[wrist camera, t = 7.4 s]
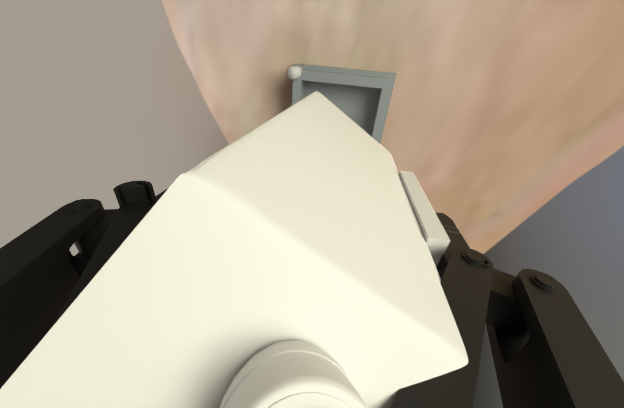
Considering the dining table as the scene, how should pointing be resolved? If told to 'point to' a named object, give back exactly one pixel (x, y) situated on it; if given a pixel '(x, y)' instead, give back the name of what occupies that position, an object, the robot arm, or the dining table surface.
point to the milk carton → (259, 286)
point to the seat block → (348, 92)
